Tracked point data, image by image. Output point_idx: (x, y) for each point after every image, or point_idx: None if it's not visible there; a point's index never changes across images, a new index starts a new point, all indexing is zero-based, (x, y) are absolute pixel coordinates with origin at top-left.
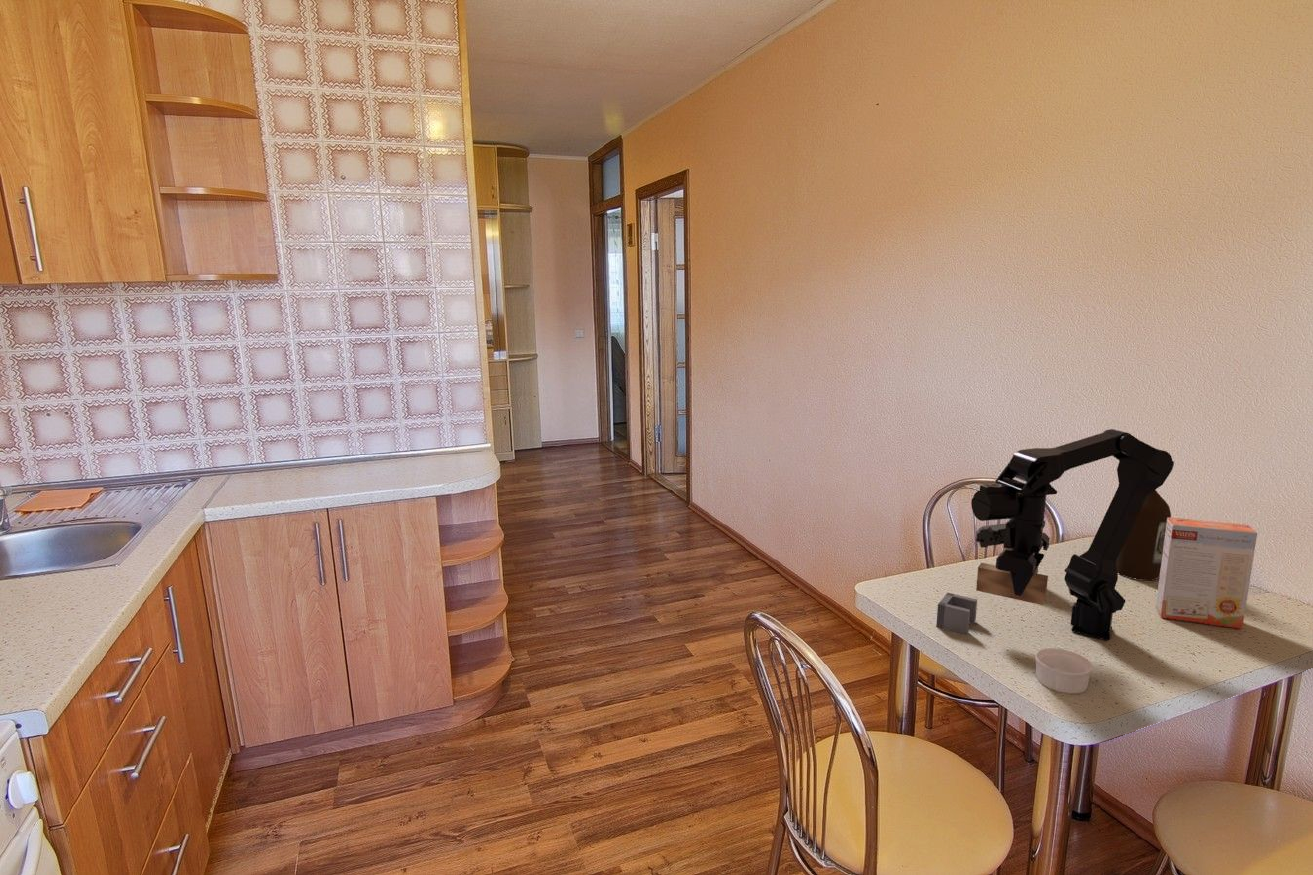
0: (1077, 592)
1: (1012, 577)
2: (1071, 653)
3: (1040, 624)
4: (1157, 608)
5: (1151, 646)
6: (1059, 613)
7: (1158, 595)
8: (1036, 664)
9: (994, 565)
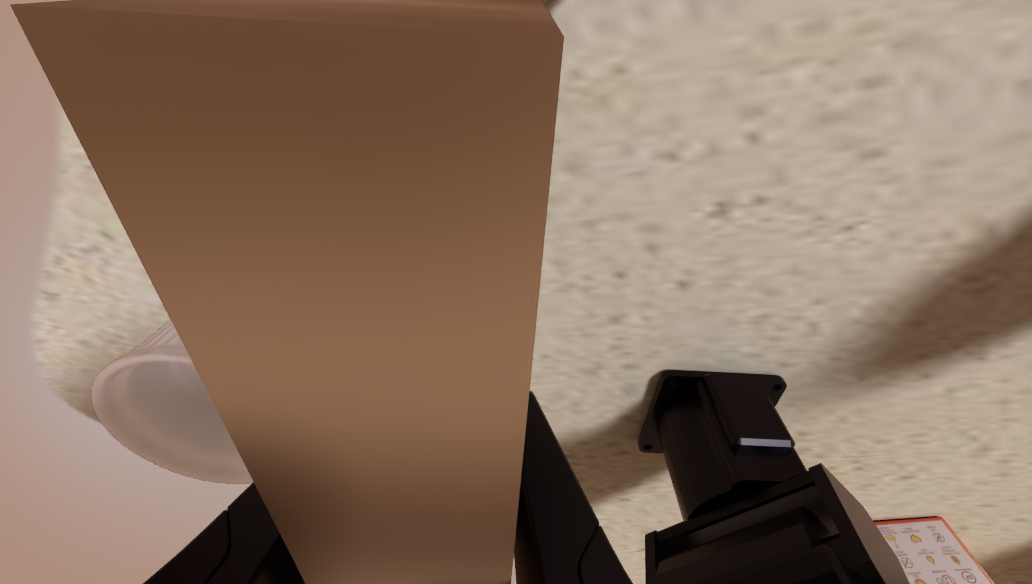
0: (734, 537)
1: (191, 553)
2: None
3: (699, 277)
4: (920, 524)
5: (650, 504)
6: (845, 327)
7: (959, 567)
8: (160, 338)
9: (506, 358)
